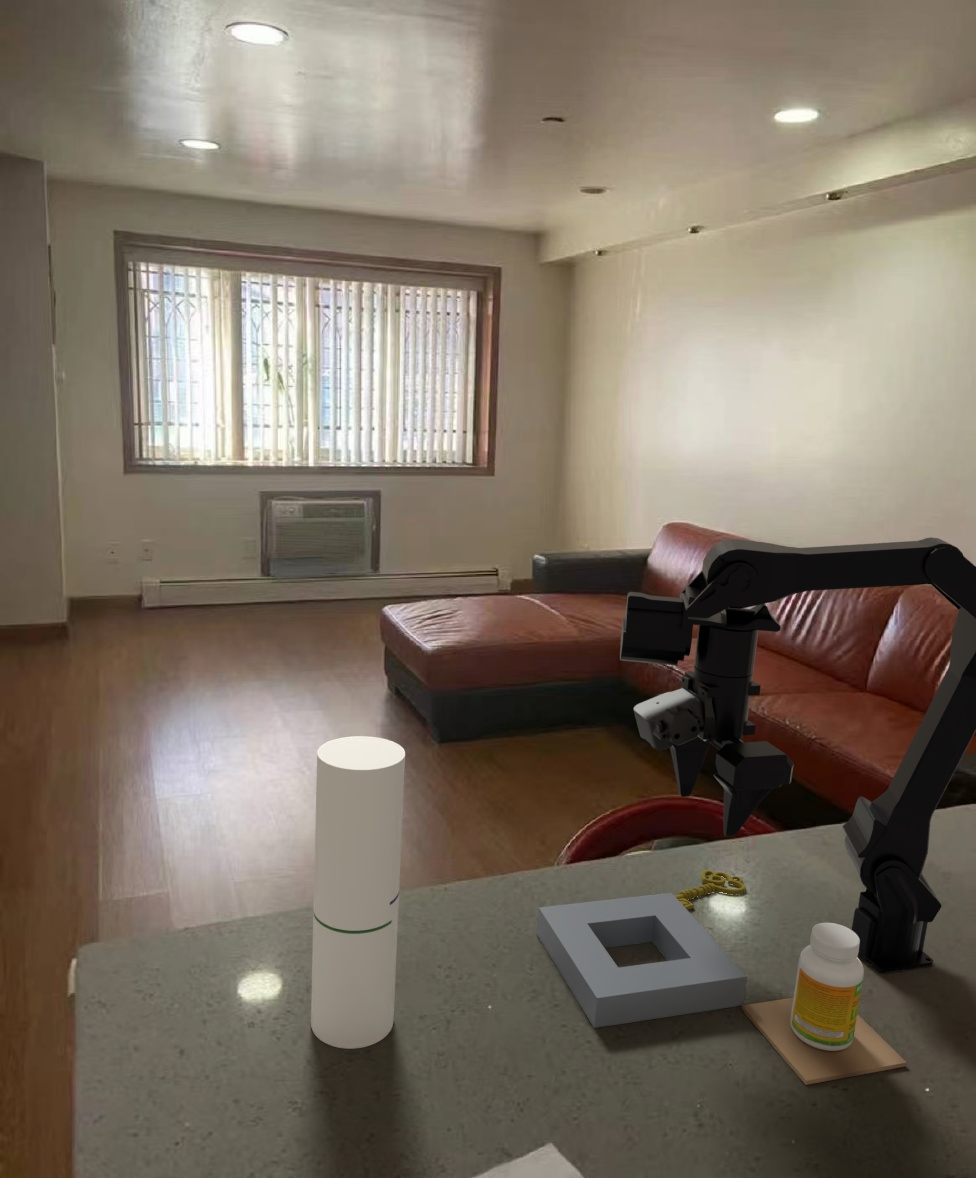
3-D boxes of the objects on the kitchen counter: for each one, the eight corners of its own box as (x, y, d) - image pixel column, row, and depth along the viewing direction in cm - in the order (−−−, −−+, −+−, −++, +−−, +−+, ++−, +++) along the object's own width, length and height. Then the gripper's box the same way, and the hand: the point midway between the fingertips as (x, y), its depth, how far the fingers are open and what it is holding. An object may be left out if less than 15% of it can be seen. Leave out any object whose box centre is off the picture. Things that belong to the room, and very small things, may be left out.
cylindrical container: (406, 1007, 88) (418, 745, 83) (371, 1057, 81) (382, 776, 76) (335, 987, 90) (342, 730, 85) (295, 1034, 84) (300, 759, 78)
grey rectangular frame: (668, 917, 105) (671, 892, 105) (743, 1004, 91) (747, 976, 91) (536, 933, 101) (538, 907, 100) (594, 1027, 87) (596, 997, 86)
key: (679, 907, 106) (648, 885, 110) (678, 917, 106) (647, 896, 110) (756, 883, 112) (724, 864, 116) (754, 893, 112) (722, 873, 117)
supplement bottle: (857, 1058, 84) (874, 957, 82) (792, 1046, 85) (807, 946, 83) (848, 1019, 90) (863, 923, 87) (787, 1008, 91) (800, 913, 88)
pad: (833, 994, 94) (834, 991, 94) (905, 1066, 84) (906, 1062, 84) (741, 1009, 91) (741, 1005, 91) (805, 1084, 81) (806, 1080, 81)
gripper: (609, 644, 103) (597, 782, 107) (696, 704, 86) (678, 867, 89) (704, 641, 107) (689, 776, 110) (806, 699, 89) (784, 856, 93)
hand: (706, 815), depth 100 cm, fingers open, 9 cm apart
